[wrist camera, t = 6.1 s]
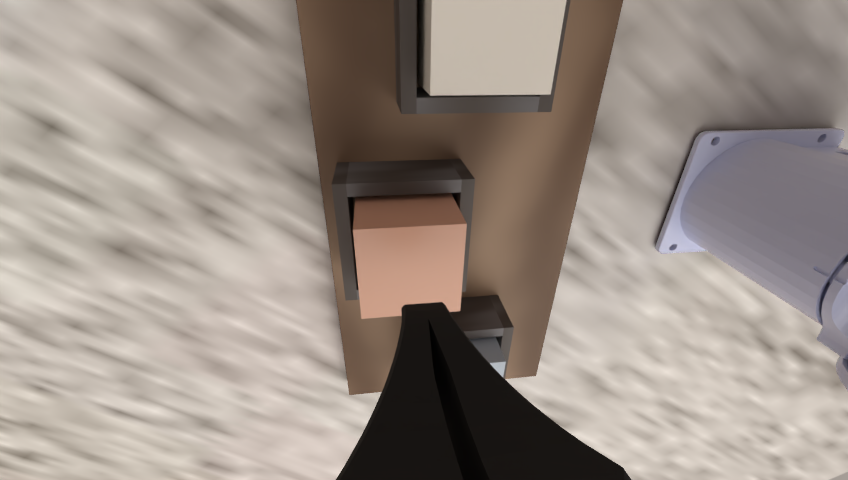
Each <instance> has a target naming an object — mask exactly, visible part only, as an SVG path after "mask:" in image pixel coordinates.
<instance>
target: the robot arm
mask: <svg viewBox="0 0 848 480" xmlns="http://www.w3.org/2000/svg"><path fill="white" fill-rule="evenodd" d="M843 137H844V131H843V130H841V129H837V128H816V129H772V130H727V131H704V132H702V133H700V134H699V135H698V136H697V137H696V139H695V141H694V144H693V147H692V149H691V152H690V155H689V157H688V160H687V163H686V165H685V168H684V171H683V174H682V176H681V179H680V182H679V184H678V187H677V190H676V192H675V195H674V198H673V200H672V203H671V206H670V209H669V211H668V214H667V217H666V219H665V222H664V225H663V227H662V230H661V233H660V235H659V238H658V241H657V244H656V247H655V248H656V250H657V251H658V252H660V253H661V254H667V253H682V252H698V251H708V252H710V253H711V254H713V255H714V256H716V257H717V258H719V259H720V260H722V261H723V262H725V263H726V264H728V265H730V266H731V267H733V268H734V269H736V270H737V271H739V272H740V273H742V274H743V275H745V276H747V277H748V278H750V279H751V280H753V281H754V282H756V283H757V284H759V285H760V286H762V287H764V288H765V289H767V290H768V291H770V292H771V293H773V294H774V295H776V296H777V297H779V298H781V299H782V300H784V301H785V302H787V303H788V304H790V305H791V306H793V307H794V308H796V309H798V310H799V311H801V312H802V313H804V314H805V315H807V316H808V317H810V318H811V319H813V320H815V321H816V322H818V323H819V324H821V325H822V329H821V332H820V334H819V335H818V337H817V340H818V341H819V342H821V343H822V344H824V345H825V346H827V347H828V348H830V349H831V350H832V351H834V352H835V353H837V354H838V355H840V357H839V358H838V360H837V363H836V370H837V374H838V376H839V378H840V380H841V382H842V383H843V385H844V386H845V388H846V389H847V390H848V150H846V149H842V148H838V146H839V144H840V142H841V141H842V139H843ZM713 138H714V140H713V142H712V143H711V141H712V139H713ZM671 245H672V246H671ZM401 312H402V322H401V329H400V335H399V339H398V344H397V348H396V352H395V355H394V359H393V362H392V365H391V368H390V371H389V374H388V377H387V380H386V383H385V385H384V388H383V390H382V393H381V395H380V398H379V400H378V402H377V405H376V407H375V409H374V411H373V413H372V415H371V418H370V420H369V422H368V424H367V426H366V428H365V430H364V432H363V434H362V436H361V438H360V439H359V441H358V443H357V445H356V446H355V448H354V450H353V452H352V454H351V455H350V457H349V459H348V461H347V462H346V464H345V466H344V468H343V469H342V471H341V473H340V474H339V476H338V477H337V479H336V480H631V478H630V477H629V476H628V474H627V473H626V471H625V470H624V468H623V467H621V466H620V465H618V464H616V463H615V462H613V461H612V460H610V459H608V458H607V457H605V456H604V455H602V454H600V453H599V452H597V451H596V450H594V449H592V448H591V447H589V446H587V445H586V444H584V443H583V442H581V441H580V440H578V439H577V438H576V437H574V436H573V435H571V434H570V433H568V432H567V431H566V430H564V429H563V428H561V427H560V426H559V425H558V424H556V423H555V422H554V421H552V420H551V419H550V418H549V417H547V416H546V415H545V414H544V413H542V412H541V411H540V410H539V409H537V408H536V407H535V406H533V405H532V404H531V403H530V402H529V401H528V400H527V399H525V398H524V397H523V396H522V395H521V394H520V393H519V392H518V391H517V390H515V389H514V388H513V387H512V386H511V385H510V384H509V383H508V382H507V381H506V380H505V379H504V378H503V377H502V376H501V375H500V374H499V373H498V372H497V371H496V370H495V369H494V368H493V367H492V365H491V364H490V363H489V362H488V361H487V360H486V359H485V358H484V357H483V355H482V354H481V353H480V352H479V351H478V349H477V348H476V347H475V346H474V345H473V343H472V342H471V341H470V340H469V338H468V337H467V336H466V334H465V333H464V332H463V330H462V329H461V328H460V326H459V325H458V324H457V322H456V321H455V319H454V318H453V316H452V315H451V313H450V312H449V310H448V309H447V307H446V305H445V304H444V303H443V302H434V303H420V304H406V305H404V306H403V307H402V308H401Z"/></svg>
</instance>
